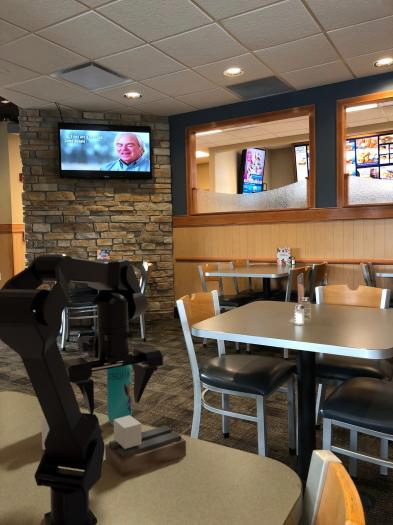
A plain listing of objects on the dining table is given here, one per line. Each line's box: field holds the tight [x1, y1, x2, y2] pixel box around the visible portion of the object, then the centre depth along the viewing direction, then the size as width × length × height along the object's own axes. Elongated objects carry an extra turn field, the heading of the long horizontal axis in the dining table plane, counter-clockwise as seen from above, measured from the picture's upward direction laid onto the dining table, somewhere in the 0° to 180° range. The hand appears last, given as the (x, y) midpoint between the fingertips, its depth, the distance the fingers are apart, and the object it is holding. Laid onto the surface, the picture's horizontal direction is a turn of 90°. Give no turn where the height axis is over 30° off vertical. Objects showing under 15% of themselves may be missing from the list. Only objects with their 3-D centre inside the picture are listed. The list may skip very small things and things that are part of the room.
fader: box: [113, 415, 142, 449], centre depth 84 cm, size 4×5×5 cm
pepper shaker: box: [40, 415, 49, 451], centre depth 92 cm, size 4×4×10 cm
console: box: [104, 425, 187, 478], centre depth 87 cm, size 14×8×4 cm, turn 125°
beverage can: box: [106, 361, 133, 426], centre depth 104 cm, size 6×6×15 cm
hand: (114, 407), depth 82 cm, fingers open, 9 cm apart
